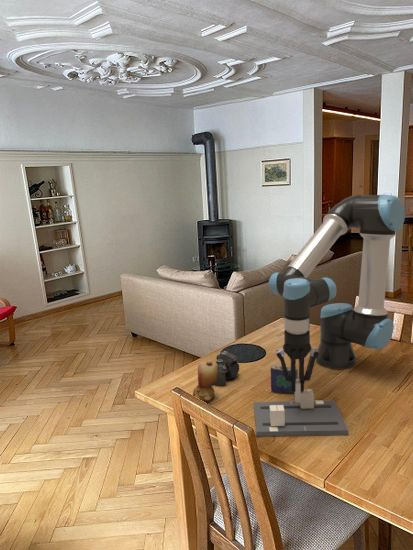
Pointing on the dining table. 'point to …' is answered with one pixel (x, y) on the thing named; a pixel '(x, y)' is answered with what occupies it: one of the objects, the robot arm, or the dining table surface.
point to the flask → (281, 380)
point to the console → (301, 419)
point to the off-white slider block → (307, 399)
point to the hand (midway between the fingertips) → (297, 400)
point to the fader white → (277, 415)
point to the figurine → (206, 381)
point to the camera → (226, 367)
